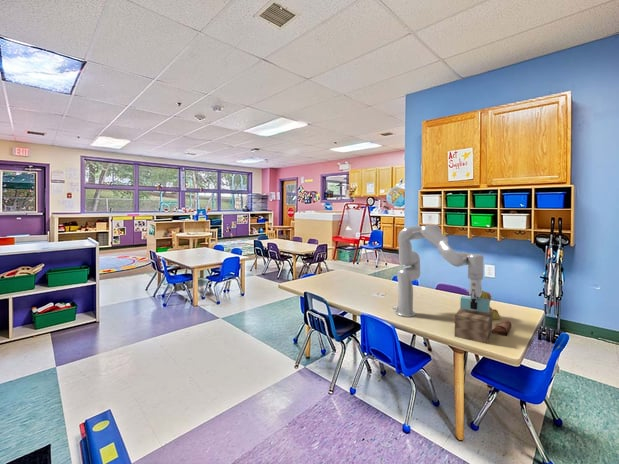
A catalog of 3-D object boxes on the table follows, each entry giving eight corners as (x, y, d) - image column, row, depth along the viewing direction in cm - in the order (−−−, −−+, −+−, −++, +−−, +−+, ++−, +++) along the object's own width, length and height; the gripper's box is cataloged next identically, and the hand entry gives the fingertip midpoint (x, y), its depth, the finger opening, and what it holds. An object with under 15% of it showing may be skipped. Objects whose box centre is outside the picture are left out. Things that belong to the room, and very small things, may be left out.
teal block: (460, 308, 173) (460, 297, 173) (461, 305, 177) (462, 295, 177) (488, 312, 165) (488, 301, 165) (489, 310, 169) (489, 299, 169)
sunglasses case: (495, 323, 188) (501, 315, 185) (506, 331, 184) (513, 323, 182) (490, 332, 174) (497, 324, 171) (502, 341, 170) (510, 333, 168)
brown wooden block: (454, 336, 169) (455, 314, 168) (461, 325, 185) (462, 305, 184) (487, 343, 160) (488, 320, 159) (492, 331, 175) (492, 310, 174)
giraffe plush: (503, 317, 198) (504, 288, 197) (487, 325, 184) (488, 295, 183) (471, 309, 215) (472, 282, 213) (454, 316, 200) (455, 288, 199)
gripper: (480, 279, 161) (479, 313, 162) (485, 274, 174) (484, 304, 176) (465, 278, 165) (464, 310, 167) (470, 272, 179) (469, 302, 180)
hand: (474, 307), depth 171 cm, fingers closed on teal block, 5 cm apart
